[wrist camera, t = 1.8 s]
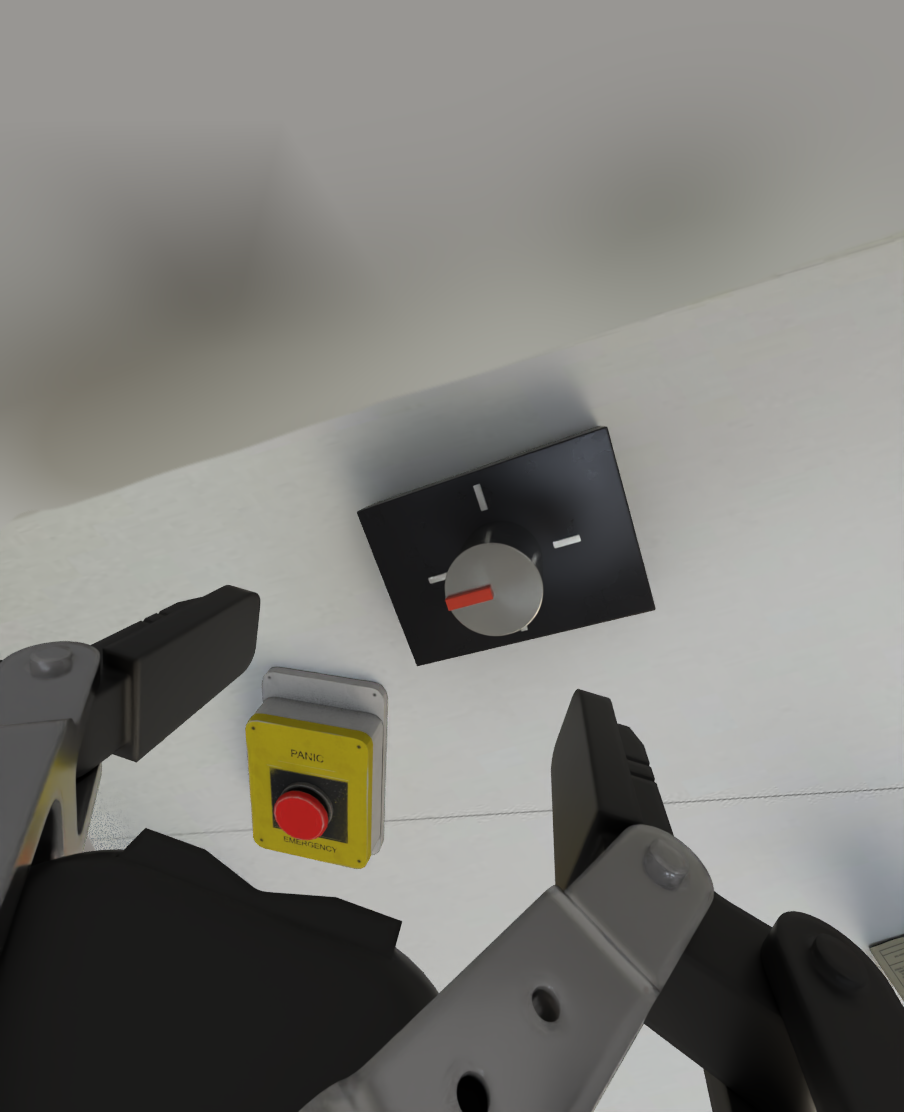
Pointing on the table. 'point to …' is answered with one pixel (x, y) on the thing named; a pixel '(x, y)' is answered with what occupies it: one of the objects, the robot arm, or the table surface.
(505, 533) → the hob knob
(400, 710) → the table surface
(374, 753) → the emergency button
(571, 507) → the panel
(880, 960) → the box
